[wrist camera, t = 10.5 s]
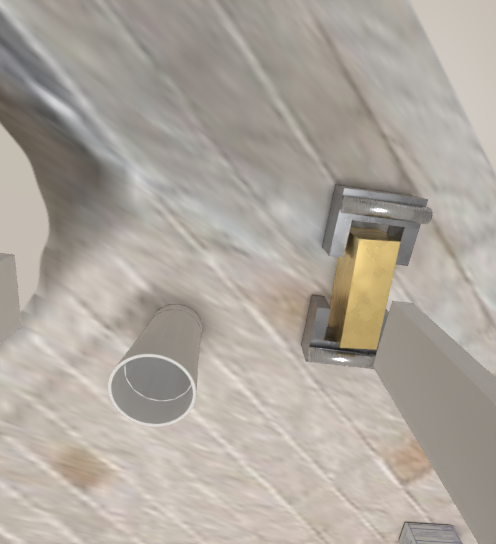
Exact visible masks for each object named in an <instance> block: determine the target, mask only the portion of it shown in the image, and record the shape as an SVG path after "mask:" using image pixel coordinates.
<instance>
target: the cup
mask: <svg viewBox="0 0 496 544" xmlns="http://www.w3.org/2000/svg"><path fill="white" fill-rule="evenodd" d="M202 330H203V327H202V322H201V319H200V318H199V316H198V315H197V314H196V312H194V311H193V310H192V309H190V308H188V307H186V306H183V305H178V304H173V305H168V306H165V307H163V308H161V309H160V310H158V311H157V312H156V314H155V315H154V317H153V319H152V320H151V322H150V323H149V324H148V326H147V327H146V328H145V330H144V331H143V332H142V334H141V335H140V336H139V338H138V339H137V340H136V342H135V343H134V344H133V346H132V347H131V348H130V349H129V351H128V352H127V353H126V354H125V356H124V357H123V358H122V360H121V361H120V362H119V363H118V365H117V366H116V367H115V368H114V370H113V371H112V373H111V375H110V378H109V381H108V392H109V396H110V399H111V401H112V403H113V405H114V406H115V408H116V409H117V410H118V411H119V412H120V413H121V414H122V415H123V416H125V417H126V418H128V419H129V420H131V421H133V422H136V423H139V424H142V425H146V426H165V425H169V424H173V423H175V422H177V421H179V420H181V419H182V418H184V417H185V416H186V415H187V414H188V413H189V412H190V411H191V409H192V407H193V405H194V403H195V400H196V391H197V377H198V360H199V350H200V339H201V335H202Z"/></svg>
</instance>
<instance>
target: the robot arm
mask: <svg viewBox="0 0 496 544" xmlns="http://www.w3.org/2000/svg"><path fill="white" fill-rule="evenodd" d="M21 327H22V326H21V316H20V306H19V296H18V285H17V276H16V265H15V255H13V254H4V253H0V343H2V342H3V341H4V340H6V339H7V338H8V337H9V336H11V335H12V334H13V333H14V332H16V331H17V330H18V329H20V328H21ZM373 367H374V369H375V371H376V372H377V374H378V376H379V377H380V379H381V381H382V382H383V384H384V386H385V387H386V389H387V391H388V392H389V394H390V396H391V397H392V399H393V401H394V403H395V404H396V406H397V408H398V409H399V411H400V413H401V414H402V416H403V418H404V419H405V421H406V423H407V424H408V426H409V428H410V429H411V431H412V433H413V434H414V436H415V438H416V439H417V441H418V443H419V445H420V446H421V448H422V450H423V451H424V453H425V455H426V456H427V458H428V460H429V461H430V463H431V465H432V466H433V468H434V470H435V471H436V473H437V475H438V476H439V478H440V480H441V481H442V483H443V485H444V487H445V488H446V490H447V492H448V493H449V495H450V497H451V498H452V500H453V502H454V503H455V505H456V507H457V508H458V510H459V512H460V513H461V515H462V517H463V518H464V520H465V522H466V523H467V525H468V527H469V529H470V530H471V532H472V534H473V535H474V537H475V539H476V540H477V542H478V544H496V378H495V377H494V376H493V375H492V374H491V373H490V372H489V371H487V370H486V369H485V368H484V367H483V366H482V365H481V364H480V363H479V362H478V361H476V360H475V359H474V358H473V357H472V356H471V355H470V354H469V353H468V352H466V351H465V350H464V349H463V348H462V347H461V346H460V345H459V344H458V343H456V342H455V341H454V340H453V339H452V338H451V337H450V336H449V335H448V334H447V333H445V332H444V331H443V330H442V329H441V328H440V327H439V326H438V325H437V324H435V323H434V322H433V321H432V320H431V319H430V318H429V317H428V316H427V315H426V314H424V313H423V312H422V311H421V310H420V309H419V308H418V307H417V306H416V305H414V304H413V303H406V302H398V301H392V304H391V307H390V311H389V314H388V317H387V321H386V324H385V327H384V331H383V334H382V337H381V341H380V344H379V347H378V351H377V354H376V357H375V361H374V364H373Z"/></svg>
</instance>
